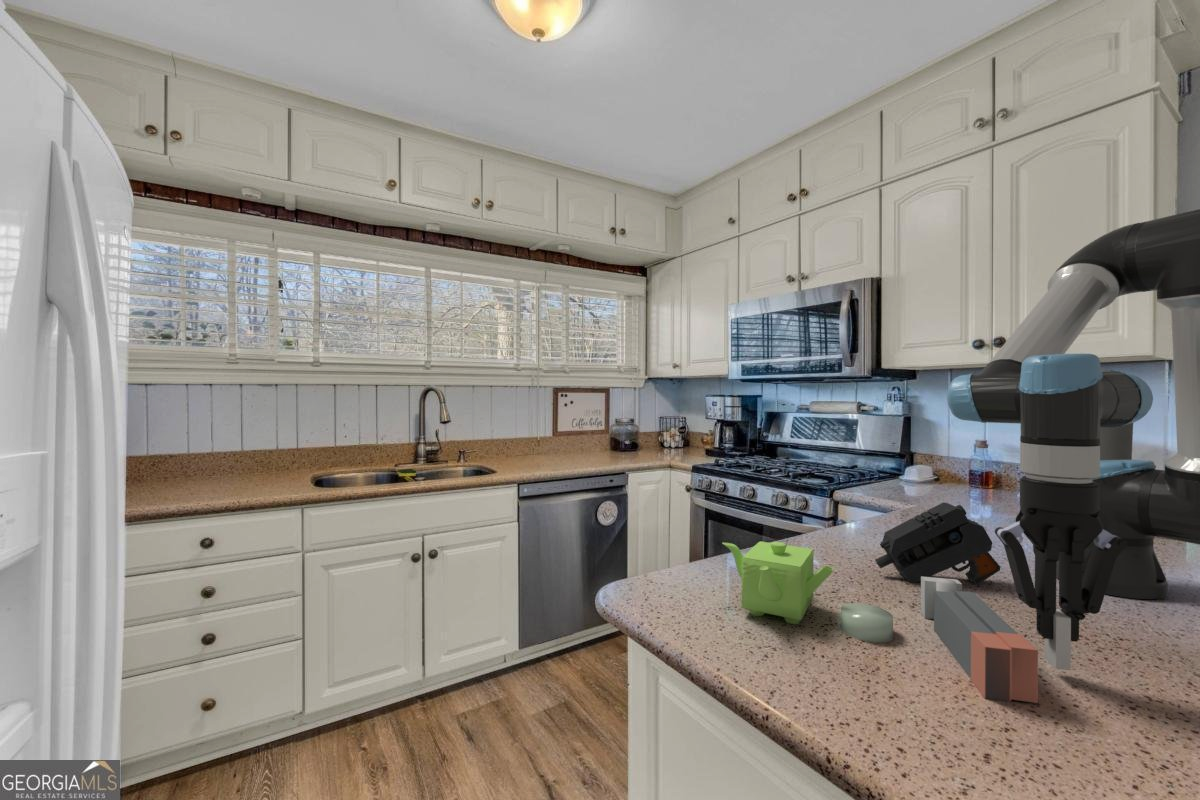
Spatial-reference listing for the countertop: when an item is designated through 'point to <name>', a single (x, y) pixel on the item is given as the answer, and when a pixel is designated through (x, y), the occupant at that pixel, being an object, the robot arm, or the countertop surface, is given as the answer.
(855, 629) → the grey-green pebble
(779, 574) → the kettle
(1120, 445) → the canister
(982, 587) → the countertop surface
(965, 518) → the tool
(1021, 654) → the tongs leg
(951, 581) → the tongs base
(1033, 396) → the robot arm
